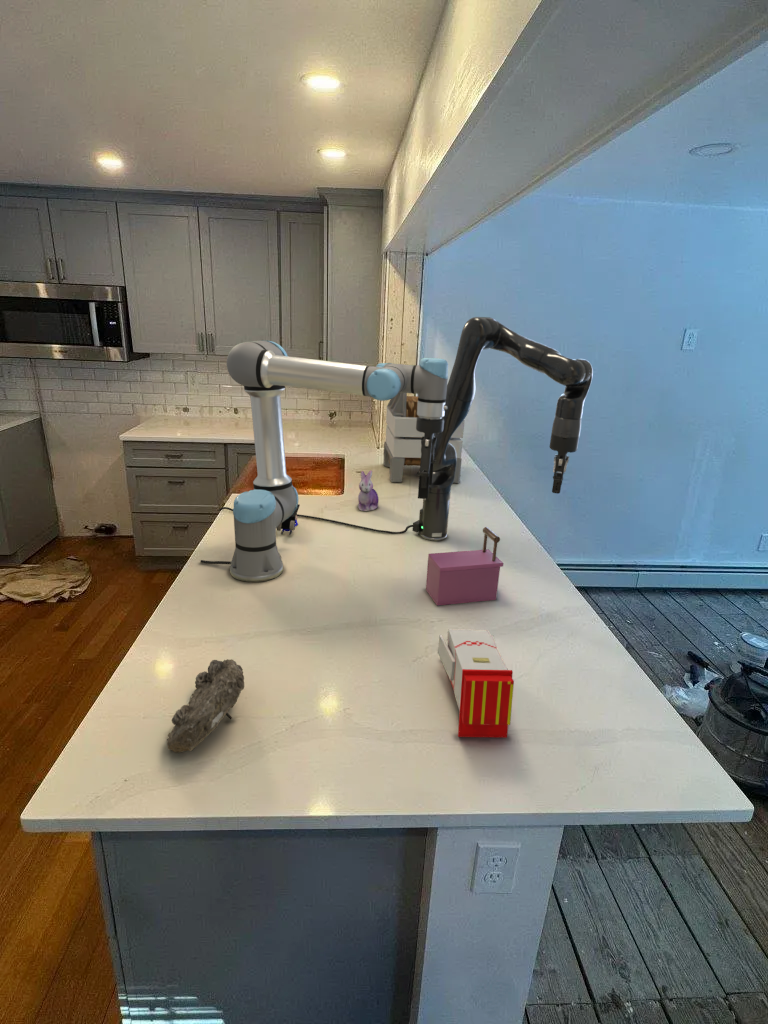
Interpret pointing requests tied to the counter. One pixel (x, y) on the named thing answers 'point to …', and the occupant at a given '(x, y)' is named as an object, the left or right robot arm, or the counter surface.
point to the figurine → (367, 493)
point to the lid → (469, 557)
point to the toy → (478, 682)
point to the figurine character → (289, 523)
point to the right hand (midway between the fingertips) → (556, 488)
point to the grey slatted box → (410, 437)
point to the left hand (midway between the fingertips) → (425, 491)
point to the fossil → (206, 705)
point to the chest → (461, 585)
